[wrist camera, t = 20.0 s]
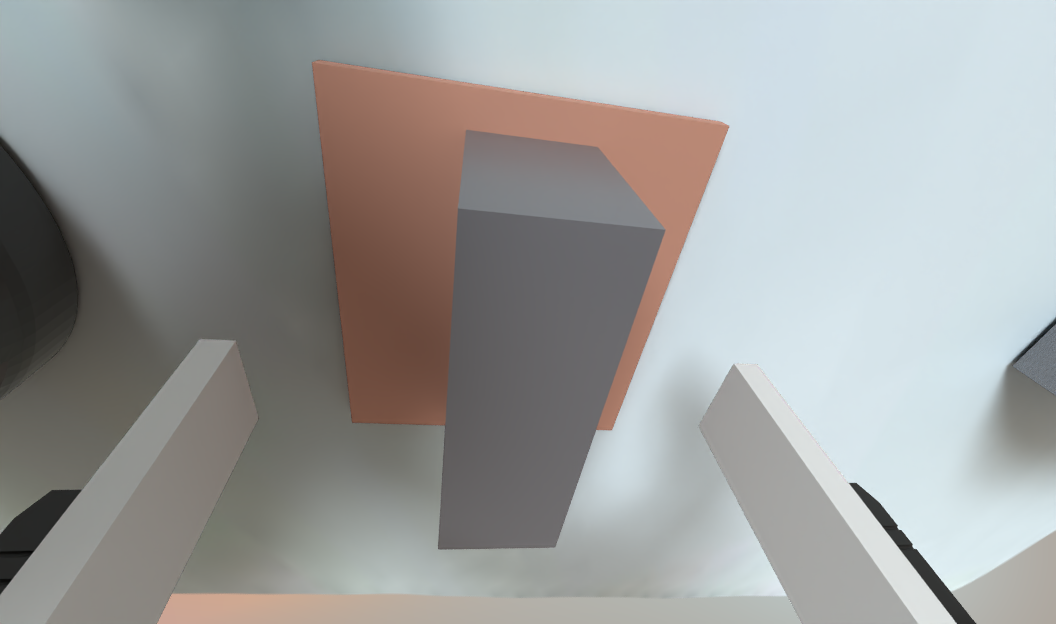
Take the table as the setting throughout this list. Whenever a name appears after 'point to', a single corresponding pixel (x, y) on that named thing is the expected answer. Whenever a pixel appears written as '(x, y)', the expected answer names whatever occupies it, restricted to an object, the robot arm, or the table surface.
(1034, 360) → the gray rectangular box
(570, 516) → the table surface
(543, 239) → the tall gray pillar
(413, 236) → the mat
